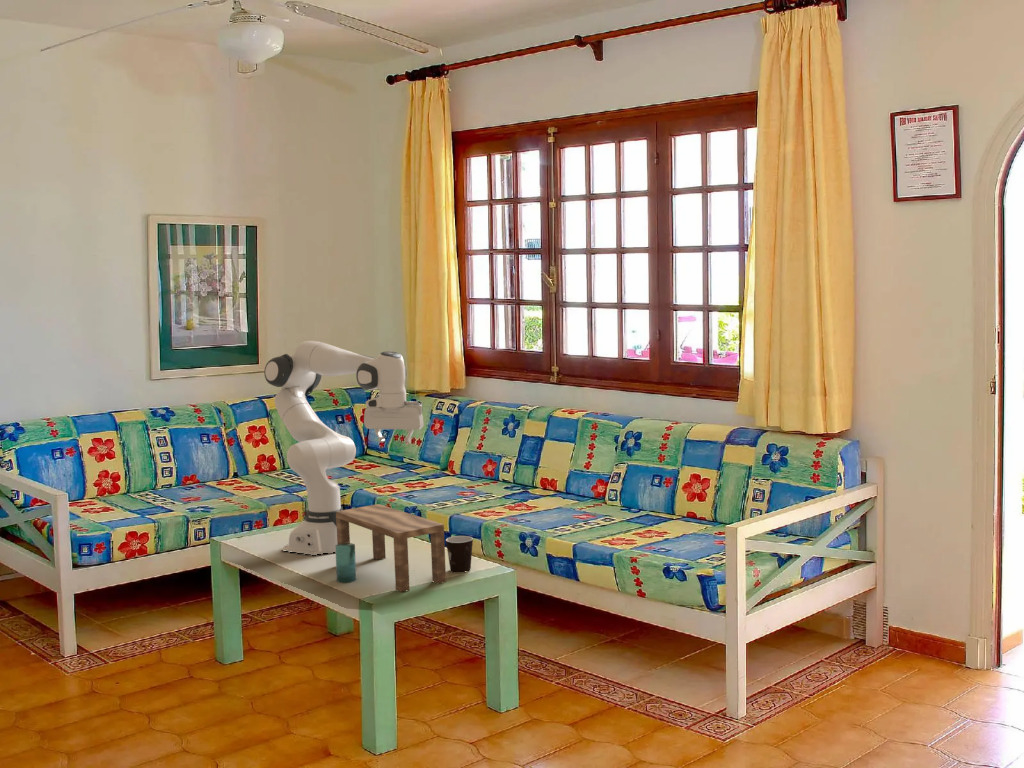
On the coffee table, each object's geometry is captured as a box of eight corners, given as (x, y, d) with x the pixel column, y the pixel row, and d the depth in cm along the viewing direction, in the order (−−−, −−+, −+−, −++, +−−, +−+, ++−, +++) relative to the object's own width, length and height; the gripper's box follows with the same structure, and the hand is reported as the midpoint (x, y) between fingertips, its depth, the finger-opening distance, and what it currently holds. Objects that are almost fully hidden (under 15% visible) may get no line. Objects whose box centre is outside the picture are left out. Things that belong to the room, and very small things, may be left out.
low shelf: (400, 592, 319) (398, 533, 317) (338, 565, 351) (335, 511, 350) (445, 581, 329) (443, 524, 327) (381, 556, 361) (378, 504, 359)
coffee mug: (448, 566, 346) (447, 536, 345) (474, 566, 346) (473, 535, 345) (444, 576, 334) (443, 545, 333) (472, 576, 334) (471, 544, 333)
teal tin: (333, 582, 332) (332, 547, 331) (341, 576, 338) (340, 542, 337) (351, 583, 331) (349, 548, 329) (359, 577, 336) (358, 543, 335)
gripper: (425, 400, 353) (427, 441, 354) (369, 399, 359) (371, 440, 361) (418, 402, 347) (419, 444, 348) (361, 401, 353) (362, 443, 355)
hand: (394, 442), depth 355 cm, fingers open, 8 cm apart
